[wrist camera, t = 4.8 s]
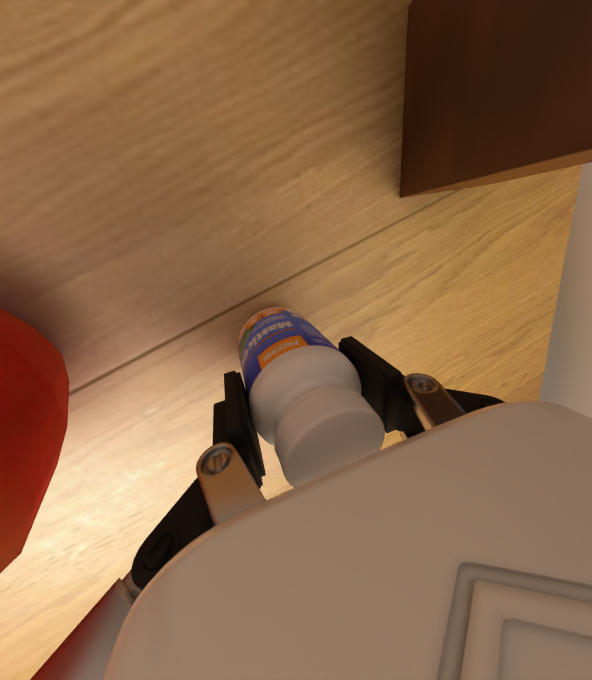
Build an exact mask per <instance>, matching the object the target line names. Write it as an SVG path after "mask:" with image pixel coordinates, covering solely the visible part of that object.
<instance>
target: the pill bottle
mask: <svg viewBox="0 0 592 680" xmlns="http://www.w3.org/2000/svg"><path fill="white" fill-rule="evenodd" d="M238 351H239V357H240V362H241V367H242V372H243V377H244V383H245V388H246V394H247V400H248V405H249V411H250V415H251V420H252V423H253V425H254V427H255V429H256V431H257V432H258V433H259V435H260V436H261V437H262V438H263V439H264V440H265V441H267V442H268V443H269V444H271V445H273V446H275V451H276V454H277V456H278V458H279V461H280V464H281V467H282V470H283V473H284V476H285V478H286V480H287V481H288V482H289V484H290V485H292V486H293V487H294V488H295V487H298V486H300V485H302V484H304V483H307V482H309V481H311V480H314V479H316V478H318V477H320V476H323V475H325V474H327V473H329V472H332V471H334V470H336V469H339V468H341V467H343V466H345V465H348V464H350V463H352V462H355V461H357V460H359V459H362V458H364V457H366V456H368V455H371V454H373V453H375V452H378V451H379V450H380V448H381V446H382V444H383V440H384V434H385V432H384V426H383V422H382V420H381V419H380V417H379V416H378V415H377V413H376V412H375V411H374V410H373V408H372V407H371V406H370V405H369V404H368V403H367V401H366V400H365V399H364V398H363V397H362V396H361V382H360V378H359V375H358V372H357V370H356V369H355V367H354V365H353V364H352V363H351V362H350V361H349V359H348V358H347V357H346V356H345V355H344V354H342V353H341V352H340V351H339V350H338V349H337V348H336V347H335V346H334V345H333V344H332V343H331V342H330V341H329V340H327V339H326V338H325V337H324V336H323V335H322V334H321V333H320V332H319V331H318V330H317V329H316V328H315V327H314V326H313V325H312V324H311V323H309V322H308V321H307V320H306V319H305V318H304V317H303V316H302V315H300V314H299V313H298V312H296V311H294V310H292V309H289V308H285V307H272V308H267V309H264V310H262V311H260V312H258V313H256V314H255V315H253V316H252V317H251V318H250V319H249V320H248V321H247V322H246V323H245V325H244V326H243V328H242V330H241V332H240V335H239V340H238Z"/></svg>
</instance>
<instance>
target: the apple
mask: <svg viewBox="0 0 592 680" xmlns="http://www.w3.org/2000/svg"><path fill="white" fill-rule="evenodd" d="M68 399H69V379H68V375H67V371H66V368H65V364H64V360H63V357H62V354H61V353H60V352H59V351H58V350H57V349H56V348H55V347H54V346H53V345H52V344H51V343H50V342H49V341H48V340H47V339H46V338H44V337H43V336H42V335H41V334H40V333H39V332H38V331H37V330H36V329H35V328H34V327H32V326H30V325H29V324H27V323H25V322H24V321H22V320H20V319H18V318H17V317H15V316H13V315H11V314H10V313H8V312H6V311H4V310H3V309H1V308H0V573H1V572H2V571H3V570H4V569H5V568H6V567H7V566H8V565H9V564H10V563H11V562H12V561H13V560H14V559H16V558H17V557H18V556H19V555H20V554H21V552H22V550H23V547H24V545H25V542H26V540H27V537H28V535H29V532H30V530H31V528H32V525H33V523H34V520H35V518H36V515H37V513H38V510H39V508H40V505H41V503H42V501H43V498H44V496H45V493H46V491H47V488H48V486H49V483H50V481H51V478H52V476H53V474H54V471H55V469H56V466H57V464H58V460H59V456H60V452H61V448H62V444H63V441H64V437H65V433H66V429H67V420H68Z"/></svg>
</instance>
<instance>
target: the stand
mask: <svg viewBox="0 0 592 680" xmlns="http://www.w3.org/2000/svg"><path fill="white" fill-rule="evenodd" d="M589 162H592V0H413V1H412V3H411V4H410V5H409V20H408V41H407V62H406V83H405V104H404V126H403V147H402V168H401V189H400V198H403V197H410V196H416V195H423V194H429V193H436V192H442V191H449V190H455V189H462V188H468V187H475V186H481V185H488V184H494V183H498V182H503V181H507V180H512V179H517V178H521V177H526V176H530V175H535V174H539V173H544V172H548V171H553V170H558V169H562V168H567V167H571V166H576V165H580V164H585V163H589Z"/></svg>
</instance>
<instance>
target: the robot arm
mask: <svg viewBox="0 0 592 680" xmlns="http://www.w3.org/2000/svg"><path fill="white" fill-rule="evenodd" d="M339 351H340V352H341V353H342V354H344V355H345V356H346V357H347V358H348V359H349V361H350V362H351V363H352V364H353V365H354V367H355V369H356V370H357V372H358V375H359V378H360V382H361V396H362V397H363V398H364V399H365V400H366V401H367V403H368V404H369V405H370V406H371V407H372V408H373V410H374V411H375V412H376V413H377V415H378V416H379V417H380V419H381V420H382V422H383V426H384V431H385V432H386V433H389V432H391V431H394V430H398V431H399V433H400V435H401V437H402V439H403V441H401V442H398V443H396V444H394V445H392V446H389V447H387V448H385V449H382V450H380V451H378V452H375V453H373V454H371V455H368V456H366V457H364V458H362V459H359V460H357V461H355V462H352V463H350V464H348V465H345V466H343V467H341V468H339V469H336V470H334V471H332V472H329V473H327V474H325V475H323V476H320V477H318V478H316V479H314V480H311V481H309V482H307V483H304V484H302V485H300V486H298V487H295V488H293V489H291V490H289V491H286V492H284V493H282V494H280V495H277V496H275V497H273V498H271V499H269V500H267V501H266V499H265V498H264V496H263V494H262V493H261V491H260V488H261V486H262V485H263V483H262V478H261V477H262V476H265V475H266V474H265V469H264V464H263V459H262V454H261V449H260V444H259V439H258V434H257V431H256V429H255V427H254V425H253V423H252V420H251V415H250V411H249V405H248V400H247V394H246V390H245V387H244V383H243V380H242V377H241V374H240V372H238V373H236V372H235V371H232V372H228V373H225V374H224V387H225V400H224V401H221V402H218V403H215V404H214V415H213V446H211V447H210V448H208V449H207V450H206V451H205V452H204V453H203V454H202V455H201V456H200V458H199V460H198V462H197V465H196V473H197V476H198V477H197V479H196V480H195V481H194V482H193V483H192V484H191V486H190V487H189V488H188V489H187V490H186V492H185V493H184V494H183V495H182V496H181V498H180V499H179V500H178V501H177V502H176V504H175V505H174V506H173V507H172V508H171V510H170V511H169V512H168V513H167V514H166V516H165V517H164V518H163V519H162V520H161V522H160V523H159V524H158V525H157V526H156V528H155V529H154V530H153V531H152V532H151V534H150V535H149V536H148V537H147V538H146V540H145V541H144V542H143V544H142V545H141V547H140V548H139V550H138V552H137V554H136V556H135V558H134V561H133V565H132V569H131V570H130V572H129V573H128V574H127V575H126V576H125V577H124V579H123V580H121V579H120V578H119V579H118V580H117V581H116V582H115V583H114V584H113V585H112V587H111V588H110V589H109V590H108V591H107V592H106V593H105V595H104V596H103V597H102V598H101V599H100V600H99V601H98V603H97V604H96V605H95V606H94V607H93V608H92V609H91V611H90V612H89V613H88V614H87V615H86V616H85V617H84V619H83V620H82V621H81V622H80V623H79V624H78V625H77V627H76V628H75V629H74V630H73V631H72V632H71V633H70V635H69V636H68V637H67V638H66V639H65V640H64V642H63V643H62V644H61V645H60V646H59V647H58V648H57V650H56V651H55V652H54V653H53V654H52V655H51V656H50V658H49V659H48V660H47V661H46V662H45V663H44V664H43V666H42V667H41V668H40V669H39V670H38V671H37V672H36V674H35V675H34V676H33V677H32V679H31V680H592V418H590V417H588V416H586V415H584V414H581V413H579V412H576V411H574V410H571V409H569V408H567V407H563V406H561V405H557V404H553V403H549V402H541V401H514V402H507V403H505V402H504V401H502V400H500V399H497V398H495V397H491V396H487V395H481V394H475V393H469V392H463V391H457V390H450V389H444V388H443V387H442V385H441V384H440V383H439V382H438V381H437V380H436V379H434V378H433V377H431V376H428V375H425V374H420V373H413V374H409V375H407V376H406V377H405V376H404V375H402V374H401V372H400V371H399V370H397V369H396V368H395V367H393V366H392V365H390V364H389V363H388V362H386V361H385V360H384V359H382V358H381V357H379V356H378V355H377V354H375V353H374V352H373V351H371V350H370V349H368V348H367V347H366V346H364V345H363V344H362V343H360V342H359V341H357V340H356V339H355V338H353V337H352V336H350V337H347V338H343V339H341V342H339Z"/></svg>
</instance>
